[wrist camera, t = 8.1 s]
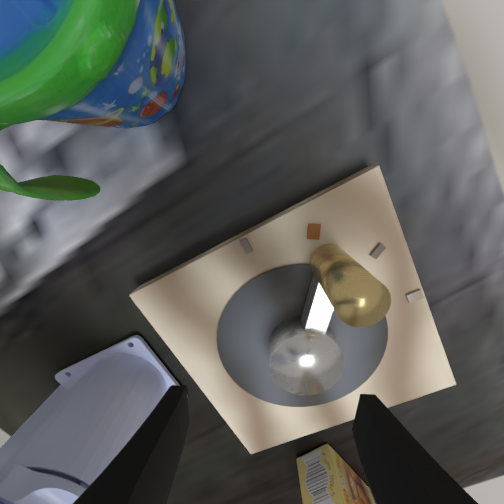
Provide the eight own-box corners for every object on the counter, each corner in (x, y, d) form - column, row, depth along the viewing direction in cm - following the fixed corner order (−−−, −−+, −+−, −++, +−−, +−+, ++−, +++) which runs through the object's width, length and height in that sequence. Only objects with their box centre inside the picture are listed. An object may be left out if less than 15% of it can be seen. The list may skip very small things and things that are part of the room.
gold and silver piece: (324, 375, 19) (351, 456, 13) (262, 365, 18) (264, 443, 13) (368, 250, 15) (429, 289, 10) (294, 236, 15) (314, 269, 10)
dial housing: (251, 437, 24) (250, 456, 22) (138, 286, 19) (127, 296, 17) (442, 369, 20) (458, 386, 19) (367, 166, 15) (380, 165, 14)
